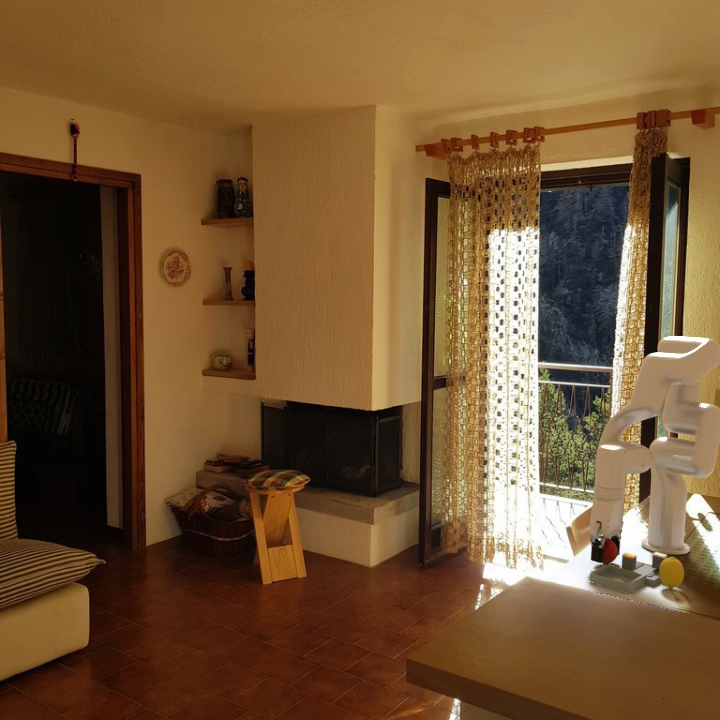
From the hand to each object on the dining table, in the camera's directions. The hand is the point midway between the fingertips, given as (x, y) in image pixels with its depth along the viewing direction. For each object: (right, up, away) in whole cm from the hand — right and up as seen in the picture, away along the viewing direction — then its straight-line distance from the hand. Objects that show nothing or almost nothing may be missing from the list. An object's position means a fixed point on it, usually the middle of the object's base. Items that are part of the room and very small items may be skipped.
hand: (605, 557), depth 195 cm
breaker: (+11, -1, -7) cm, 13 cm away
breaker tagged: (+3, -1, -8) cm, 9 cm away
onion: (0, -2, 0) cm, 2 cm away
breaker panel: (+8, -3, -7) cm, 11 cm away
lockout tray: (-1, -3, -12) cm, 13 cm away
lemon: (+11, -4, -15) cm, 19 cm away
